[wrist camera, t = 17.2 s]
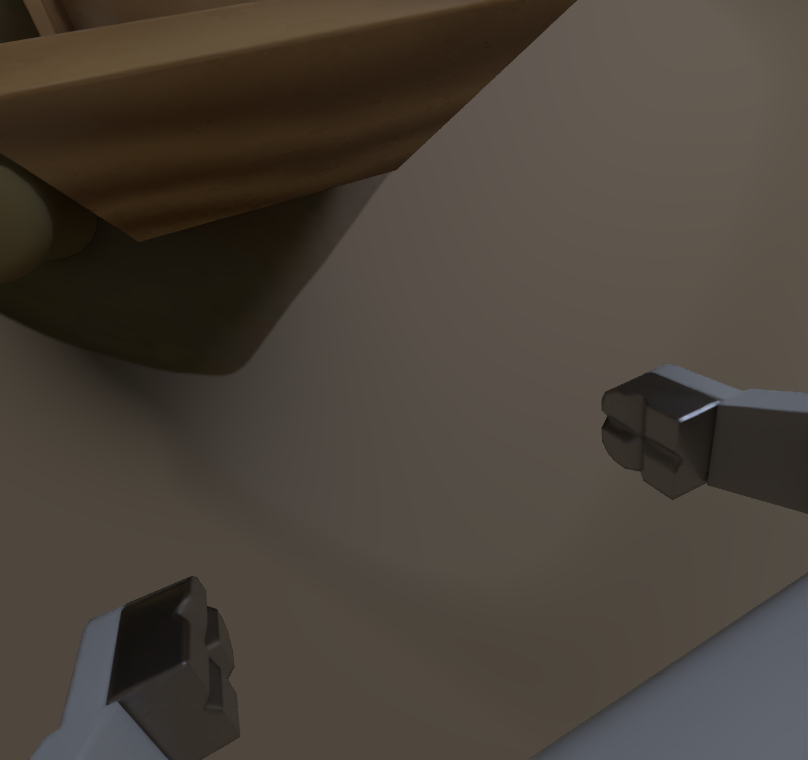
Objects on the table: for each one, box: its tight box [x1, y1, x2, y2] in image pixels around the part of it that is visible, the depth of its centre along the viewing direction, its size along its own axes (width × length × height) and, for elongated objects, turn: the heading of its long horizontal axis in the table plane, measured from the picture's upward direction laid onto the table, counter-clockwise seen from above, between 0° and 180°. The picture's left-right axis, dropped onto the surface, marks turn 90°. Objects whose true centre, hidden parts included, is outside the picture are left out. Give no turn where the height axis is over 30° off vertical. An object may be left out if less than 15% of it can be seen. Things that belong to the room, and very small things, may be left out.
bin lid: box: [0, 0, 577, 242], centre depth 16 cm, size 15×13×1 cm
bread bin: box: [22, 0, 260, 37], centre depth 24 cm, size 14×13×10 cm
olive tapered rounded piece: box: [0, 154, 97, 283], centre depth 23 cm, size 6×6×11 cm
